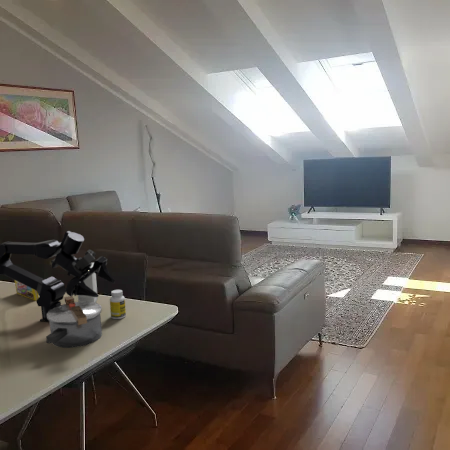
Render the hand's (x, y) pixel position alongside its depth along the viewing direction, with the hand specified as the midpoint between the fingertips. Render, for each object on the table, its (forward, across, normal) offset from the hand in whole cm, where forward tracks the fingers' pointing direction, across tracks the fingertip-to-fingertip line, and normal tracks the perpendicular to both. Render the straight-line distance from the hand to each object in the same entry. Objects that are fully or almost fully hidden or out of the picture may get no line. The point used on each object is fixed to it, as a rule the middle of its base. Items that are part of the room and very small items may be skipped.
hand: (106, 288), depth 164 cm
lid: (-1, -15, +1) cm, 15 cm away
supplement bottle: (+7, +2, +12) cm, 14 cm away
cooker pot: (+3, -18, +8) cm, 20 cm away
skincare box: (-9, +10, +26) cm, 29 cm away
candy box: (-35, +7, +43) cm, 56 cm away
